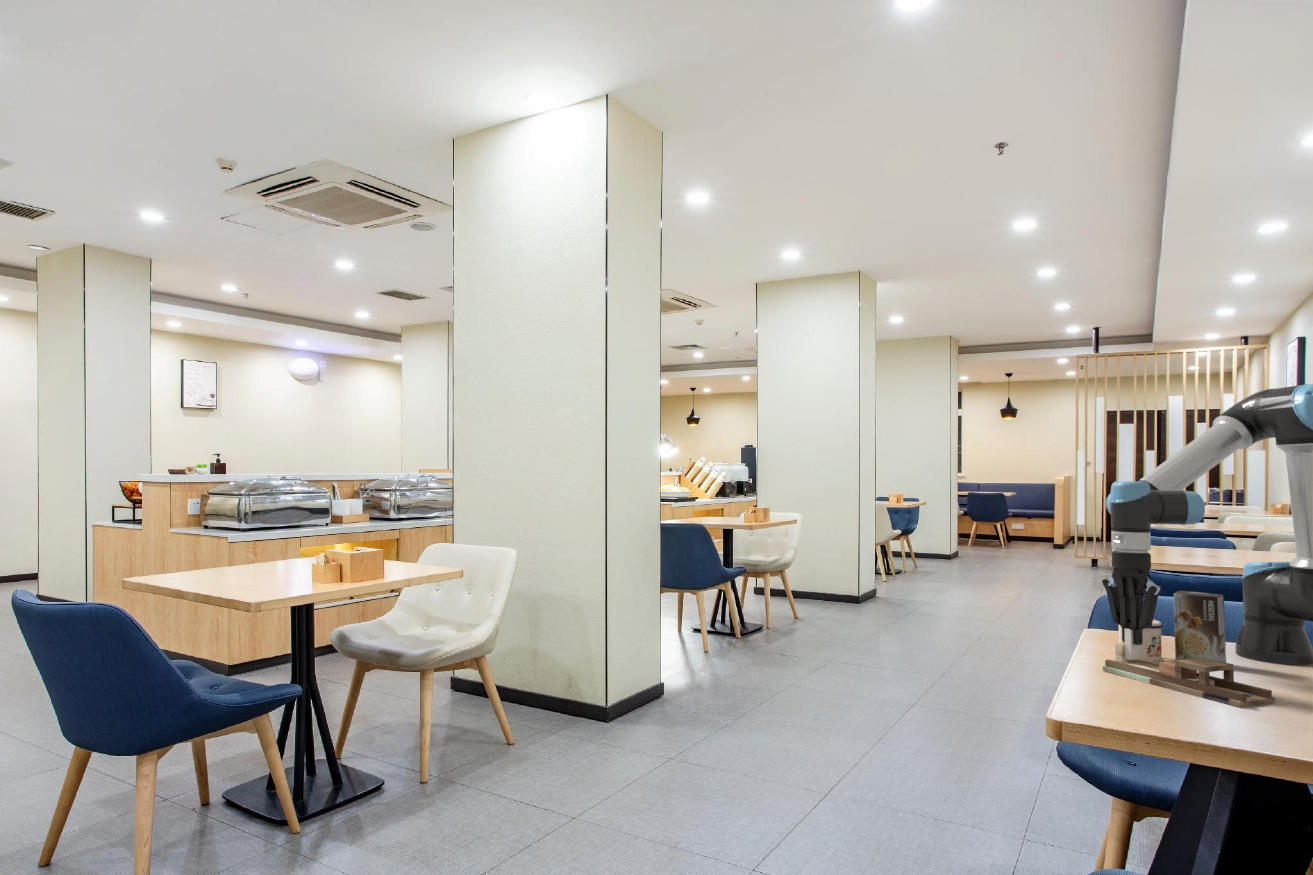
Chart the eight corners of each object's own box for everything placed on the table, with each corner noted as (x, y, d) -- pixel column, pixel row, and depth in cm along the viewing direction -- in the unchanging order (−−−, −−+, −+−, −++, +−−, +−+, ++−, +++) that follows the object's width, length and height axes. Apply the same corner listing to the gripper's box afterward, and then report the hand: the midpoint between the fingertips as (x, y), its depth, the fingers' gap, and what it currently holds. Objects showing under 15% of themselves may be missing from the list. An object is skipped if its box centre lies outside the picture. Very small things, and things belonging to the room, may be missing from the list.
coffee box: (1227, 664, 184) (1226, 594, 184) (1220, 668, 179) (1219, 597, 180) (1181, 657, 190) (1180, 589, 191) (1173, 661, 186) (1172, 592, 187)
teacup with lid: (1155, 666, 180) (1155, 614, 181) (1112, 659, 187) (1111, 609, 188) (1171, 658, 188) (1171, 609, 189) (1129, 652, 195) (1128, 604, 196)
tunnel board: (1135, 667, 179) (1134, 641, 179) (1274, 702, 152) (1274, 672, 152) (1102, 671, 175) (1102, 644, 175) (1239, 707, 148) (1239, 676, 148)
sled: (1129, 664, 177) (1129, 642, 177) (1214, 685, 159) (1214, 661, 160) (1115, 665, 175) (1115, 643, 175) (1199, 686, 158) (1199, 662, 158)
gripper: (1092, 548, 180) (1094, 653, 179) (1146, 554, 168) (1148, 666, 166) (1116, 547, 182) (1117, 651, 181) (1171, 553, 170) (1173, 664, 169)
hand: (1132, 658), depth 174 cm, fingers closed
